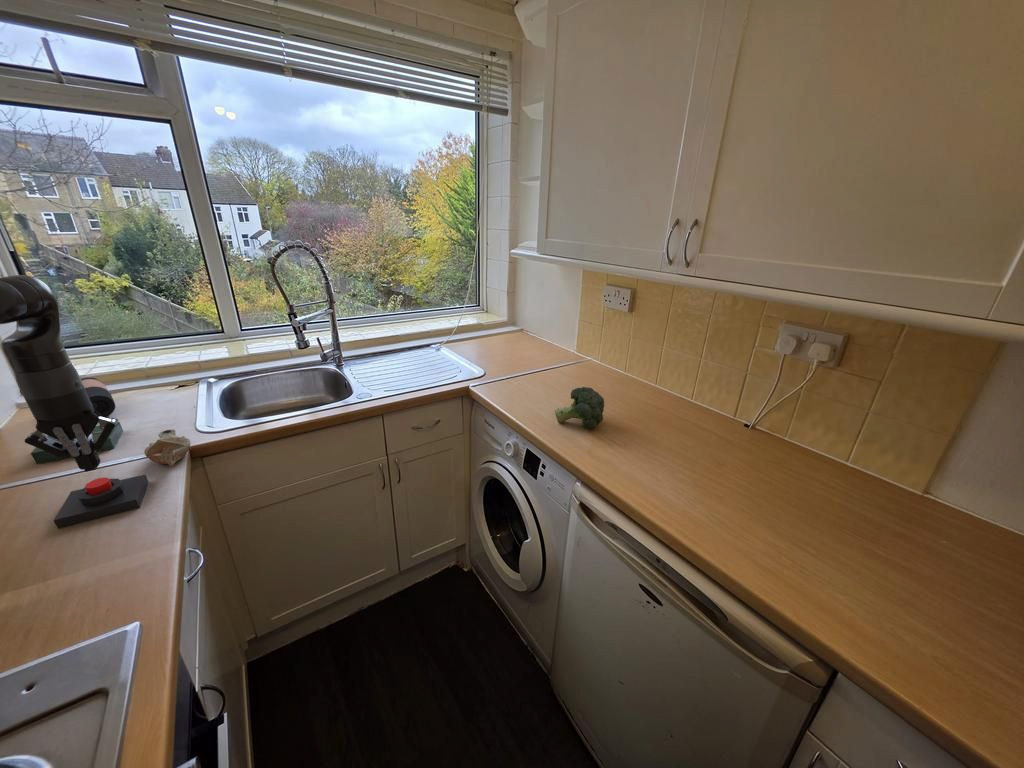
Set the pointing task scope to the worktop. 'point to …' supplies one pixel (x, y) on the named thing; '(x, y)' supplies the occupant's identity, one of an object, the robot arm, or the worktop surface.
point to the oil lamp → (168, 448)
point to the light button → (98, 486)
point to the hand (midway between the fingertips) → (91, 468)
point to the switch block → (102, 502)
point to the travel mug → (99, 396)
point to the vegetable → (583, 408)
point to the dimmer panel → (110, 443)
